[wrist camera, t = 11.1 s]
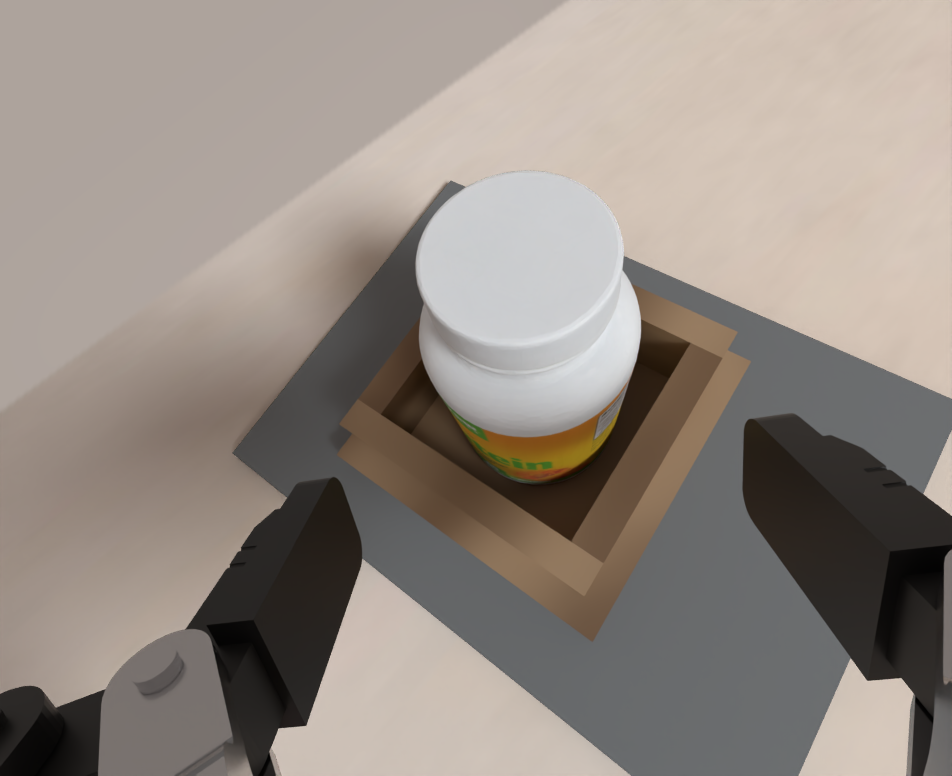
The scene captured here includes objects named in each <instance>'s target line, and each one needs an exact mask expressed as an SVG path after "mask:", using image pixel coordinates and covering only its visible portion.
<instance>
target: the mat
mask: <svg viewBox="0 0 952 776" xmlns="http://www.w3.org/2000/svg"><path fill="white" fill-rule="evenodd" d="M464 188H465V187H464V186H462V185H460V184H457V183H455V182H453V181H450V182H449V183H448V184H447V186H446V187H445V188H444V189H443V191H442V192H441V193H440V194H439V196H438V197H437V198H436V199H435V201H434V202H433V203H432V204H431V206H430V207H429V208H428V209H427V211H426V212H425V213H424V214H423V216H422V217H421V218H420V219H419V221H418V222H417V223H416V224H415V226H414V227H413V228H412V229H411V231H410V232H409V233H408V234H407V236H406V237H405V238H404V239H403V241H402V242H401V243H400V244H399V246H398V247H397V248H396V249H395V251H394V252H393V253H392V254H391V256H390V257H389V258H388V259H387V261H386V262H385V263H384V264H383V266H382V267H381V268H380V269H379V271H378V272H377V273H376V274H375V276H374V277H373V278H372V279H371V281H370V282H369V283H368V284H367V286H366V287H365V288H364V289H363V291H362V292H361V293H360V294H359V296H358V297H357V298H356V299H355V301H354V302H353V303H352V304H351V306H350V307H349V308H348V309H347V311H346V312H345V313H344V314H343V316H342V317H341V318H340V319H339V321H338V322H337V323H336V324H335V326H334V327H333V328H332V329H331V330H330V332H329V333H328V334H327V335H326V337H325V338H324V339H323V340H322V342H321V343H320V344H319V345H318V347H317V348H316V349H315V350H314V352H313V353H312V354H311V355H310V357H309V358H308V359H307V360H306V362H305V363H304V364H303V365H302V367H301V368H300V369H299V370H298V372H297V373H296V374H295V375H294V377H293V378H292V379H291V380H290V382H289V383H288V384H287V385H286V387H285V388H284V389H283V390H282V392H281V393H280V394H279V395H278V397H277V398H276V399H275V400H274V402H273V403H272V404H271V405H270V407H269V408H268V409H267V410H266V412H265V413H264V414H263V415H262V417H261V418H260V419H259V420H258V422H257V423H256V424H255V425H254V427H253V428H252V429H251V430H250V432H249V433H248V434H247V435H246V437H245V438H244V439H243V440H242V442H241V443H240V444H239V445H238V447H237V448H236V449H235V450H234V452H233V454H234V455H235V456H236V457H238V458H239V459H240V460H241V461H243V462H244V463H245V464H246V465H248V466H249V467H250V468H251V469H253V470H254V471H255V472H256V473H258V474H259V475H260V476H261V477H262V478H264V479H265V480H266V481H267V482H269V483H270V484H271V485H272V486H274V487H275V488H276V489H277V490H279V491H280V492H281V493H282V494H284V495H285V496H286V497H287V498H288V496H289V495H290V493H291V491H292V490H293V488H294V487H295V485H296V484H297V483H299V482H303V481H310V480H317V479H324V478H331V477H336V478H337V479H339V481H340V482H341V484H342V486H343V489H344V492H345V495H346V497H347V500H348V503H349V506H350V509H351V512H352V515H353V517H354V520H355V523H356V526H357V529H358V532H359V535H360V538H361V543H362V558H363V559H364V560H365V561H366V562H368V563H369V564H370V565H371V566H373V567H374V568H375V569H376V570H378V571H379V572H380V573H381V574H383V575H384V576H385V577H386V578H388V579H389V580H390V581H391V582H392V583H394V584H395V585H396V586H397V587H399V588H400V589H401V590H402V591H404V592H405V593H406V594H407V595H409V596H410V597H411V598H412V599H414V600H415V601H416V602H417V603H418V604H420V605H421V606H422V607H423V608H425V609H426V610H427V611H428V612H430V613H431V614H432V615H433V616H435V617H436V618H437V619H438V620H439V621H441V622H442V623H443V624H444V625H446V626H447V627H448V628H449V629H451V630H452V631H453V632H454V633H456V634H457V635H458V636H459V637H461V638H462V639H463V640H464V641H465V642H467V643H468V644H469V645H470V646H472V647H473V648H474V649H475V650H477V651H478V652H479V653H480V654H482V655H483V656H484V657H485V658H487V659H488V660H489V661H490V662H491V663H493V664H494V665H495V666H496V667H498V668H499V669H500V670H501V671H503V672H504V673H505V674H506V675H508V676H509V677H510V678H511V679H513V680H514V681H515V682H516V683H517V684H519V685H520V686H521V687H522V688H524V689H525V690H526V691H527V692H529V693H530V694H531V695H532V696H534V697H535V698H536V699H537V700H539V701H540V702H541V703H542V704H543V705H545V706H546V707H547V708H548V709H550V710H551V711H552V712H553V713H555V714H556V715H557V716H558V717H560V718H561V719H562V720H563V721H565V722H566V723H567V724H568V725H569V726H571V727H572V728H573V729H574V730H576V731H577V732H578V733H579V734H581V735H582V736H583V737H584V738H586V739H587V740H588V741H589V742H591V743H592V744H593V745H594V746H595V747H597V748H598V749H599V750H600V751H602V752H603V753H604V754H605V755H607V756H608V757H609V758H610V759H612V760H613V761H614V762H615V763H617V764H618V765H619V766H620V767H621V768H623V769H624V770H625V771H626V772H628V773H629V774H630V775H631V776H798V775H799V773H800V771H801V768H802V766H803V764H804V762H805V759H806V757H807V755H808V753H809V750H810V748H811V746H812V744H813V741H814V739H815V737H816V735H817V732H818V730H819V728H820V726H821V723H822V721H823V719H824V717H825V714H826V712H827V710H828V707H829V705H830V703H831V701H832V698H833V696H834V694H835V692H836V689H837V687H838V685H839V683H840V680H841V678H842V676H843V674H844V671H845V669H846V667H847V665H848V662H849V660H850V658H851V657H850V656H849V655H848V653H847V652H846V650H845V649H844V648H843V646H842V645H841V644H840V642H839V641H838V639H837V638H836V637H835V635H834V634H833V632H832V631H831V630H830V628H829V627H828V626H827V624H826V623H825V621H824V620H823V619H822V617H821V616H820V614H819V613H818V612H817V610H816V609H815V608H814V606H813V605H812V603H811V602H810V601H809V599H808V598H807V596H806V595H805V594H804V592H803V591H802V590H801V588H800V587H799V585H798V584H797V583H796V581H795V580H794V578H793V577H792V576H791V574H790V573H789V572H788V570H787V569H786V567H785V566H784V565H783V563H782V562H781V560H780V559H779V558H778V556H777V555H776V554H775V552H774V551H773V549H772V548H771V547H770V545H769V544H768V542H767V541H766V540H765V538H764V537H763V536H762V534H761V533H760V531H759V530H758V529H757V527H756V526H755V524H754V523H753V521H752V520H751V518H750V516H749V514H748V512H747V509H746V506H745V502H744V498H743V491H742V481H743V441H744V426H745V423H746V422H747V420H748V419H752V418H759V417H766V416H773V415H780V414H787V413H794V414H796V415H798V416H799V417H800V418H802V419H803V420H804V421H805V422H806V423H808V424H809V425H810V426H811V427H813V428H814V429H815V430H816V431H817V432H819V433H820V434H821V435H822V436H826V435H832V436H835V437H837V438H840V439H842V440H844V441H847V442H849V443H852V444H854V445H857V446H859V447H861V448H863V449H865V450H866V451H867V452H869V453H870V454H871V455H872V456H874V457H875V458H876V459H878V460H879V461H880V462H882V463H883V464H884V465H886V468H887V470H892V471H893V472H895V473H896V474H897V475H899V476H900V477H901V478H903V479H904V480H905V481H906V484H907V485H908V486H909V485H912V486H913V487H914V488H916V489H917V490H918V491H920V492H921V493H922V494H923V493H924V491H925V489H926V486H927V484H928V482H929V480H930V477H931V475H932V473H933V471H934V468H935V466H936V464H937V461H938V459H939V457H940V455H941V452H942V450H943V448H944V446H945V443H946V441H947V439H948V437H949V434H950V432H951V430H952V399H951V398H948V397H946V396H944V395H941V394H939V393H937V392H934V391H932V390H930V389H928V388H925V387H923V386H921V385H918V384H916V383H914V382H912V381H909V380H907V379H905V378H902V377H900V376H898V375H895V374H893V373H891V372H889V371H886V370H884V369H882V368H879V367H877V366H875V365H873V364H870V363H868V362H866V361H863V360H861V359H859V358H856V357H854V356H852V355H850V354H847V353H845V352H843V351H840V350H838V349H836V348H834V347H831V346H829V345H827V344H824V343H822V342H820V341H817V340H815V339H813V338H811V337H808V336H806V335H804V334H801V333H799V332H797V331H795V330H792V329H790V328H788V327H785V326H783V325H781V324H778V323H776V322H774V321H772V320H769V319H767V318H765V317H762V316H760V315H758V314H756V313H753V312H751V311H749V310H746V309H744V308H742V307H739V306H737V305H735V304H733V303H730V302H728V301H726V300H723V299H721V298H719V297H717V296H714V295H712V294H710V293H707V292H705V291H703V290H701V289H698V288H696V287H694V286H691V285H689V284H687V283H684V282H682V281H680V280H678V279H675V278H673V277H671V276H668V275H666V274H664V273H662V272H659V271H657V270H655V269H652V268H650V267H648V266H645V265H643V264H641V263H639V262H636V261H634V260H632V259H629V258H627V257H625V256H624V258H623V269H622V270H623V271H624V273H625V274H626V276H627V278H628V279H629V281H630V283H631V284H633V285H635V286H638V287H640V288H642V289H644V290H646V291H649V292H651V293H653V294H655V295H657V296H660V297H662V298H664V299H666V300H669V301H671V302H673V303H675V304H677V305H680V306H682V307H684V308H686V309H688V310H691V311H693V312H695V313H697V314H699V315H702V316H704V317H706V318H708V319H710V320H713V321H715V322H717V323H719V324H721V325H724V326H726V327H728V328H730V329H732V330H735V331H737V332H738V333H737V335H736V336H735V338H734V340H733V341H732V343H731V345H730V347H729V348H728V351H730V352H733V353H735V354H737V355H739V356H741V357H743V358H745V359H747V360H750V361H751V363H750V365H749V366H748V368H747V370H746V372H745V373H744V375H743V377H742V379H741V380H740V382H739V384H738V386H737V388H736V389H735V391H734V393H733V395H732V396H731V398H730V400H729V402H728V403H727V405H726V407H725V409H724V411H723V412H722V414H721V416H720V418H719V419H718V421H717V423H716V425H715V426H714V428H713V430H712V432H711V434H710V435H709V437H708V439H707V441H706V442H705V444H704V446H703V448H702V449H701V451H700V453H699V455H698V457H697V458H696V460H695V462H694V464H693V465H692V467H691V469H690V471H689V472H688V474H687V476H686V478H685V480H684V481H683V483H682V485H681V487H680V488H679V490H678V492H677V494H676V495H675V497H674V499H673V501H672V503H671V504H670V506H669V508H668V510H667V511H666V513H665V515H664V517H663V518H662V520H661V522H660V524H659V526H658V527H657V529H656V531H655V533H654V534H653V536H652V538H651V540H650V541H649V543H648V545H647V547H646V549H645V550H644V552H643V554H642V556H641V557H640V559H639V561H638V563H637V564H636V566H635V568H634V570H633V572H632V573H631V575H630V577H629V579H628V580H627V582H626V584H625V586H624V587H623V589H622V591H621V593H620V595H619V596H618V598H617V600H616V602H615V603H614V605H613V607H612V609H611V610H610V612H609V614H608V616H607V618H606V619H605V621H604V623H603V625H602V626H601V628H600V630H599V632H598V633H597V635H596V637H595V639H594V641H593V642H592V641H590V640H589V639H587V638H586V637H585V636H583V635H582V634H581V633H579V632H578V631H576V630H575V629H574V628H572V627H571V626H570V625H568V624H567V623H566V622H564V621H563V620H561V619H560V618H559V617H557V616H556V615H555V614H553V613H552V612H551V611H549V610H548V609H546V608H545V607H544V606H542V605H541V604H540V603H538V602H537V601H536V600H534V599H533V598H531V597H530V596H529V595H527V594H526V593H525V592H523V591H522V590H520V589H519V588H518V587H516V586H515V585H514V584H512V583H511V582H510V581H508V580H507V579H505V578H504V577H503V576H501V575H500V574H499V573H497V572H496V571H495V570H493V569H492V568H490V567H489V566H488V565H486V564H485V563H484V562H482V561H481V560H480V559H478V558H477V557H475V556H474V555H473V554H471V553H470V552H469V551H467V550H466V549H465V548H463V547H462V546H460V545H459V544H458V543H456V542H455V541H454V540H452V539H451V538H449V537H448V536H447V535H445V534H444V533H443V532H441V531H440V530H439V529H437V528H436V527H434V526H433V525H432V524H430V523H429V522H428V521H426V520H425V519H424V518H422V517H421V516H419V515H418V514H417V513H415V512H414V511H413V510H411V509H410V508H409V507H407V506H406V505H404V504H403V503H402V502H400V501H399V500H398V499H396V498H395V497H394V496H392V495H391V494H389V493H388V492H387V491H385V490H384V489H383V488H381V487H380V486H378V485H377V484H376V483H374V482H373V481H372V480H370V479H369V478H368V477H366V476H365V475H363V474H362V473H361V472H359V471H358V470H357V469H355V468H354V467H353V466H351V465H350V464H348V463H347V462H346V461H344V460H343V459H342V458H340V457H339V456H338V455H337V453H338V452H339V451H340V449H341V448H342V447H343V445H344V444H345V443H346V441H347V440H348V439H349V437H350V436H351V435H352V433H351V432H350V431H348V430H347V429H345V428H344V427H342V426H341V425H340V424H339V423H340V422H341V421H342V419H343V418H344V417H345V415H346V414H347V413H348V411H349V410H350V409H351V408H352V406H353V405H354V404H355V402H356V401H357V400H358V398H359V397H360V396H361V394H362V393H363V392H364V390H365V389H366V388H367V386H368V385H369V384H370V382H371V381H372V380H373V378H374V377H375V376H376V375H377V373H378V372H379V371H380V369H381V368H382V367H383V365H384V364H385V363H386V361H387V360H388V359H389V357H390V356H391V355H392V353H393V352H394V351H395V349H396V348H397V347H398V346H399V344H400V343H401V342H402V340H403V339H404V338H405V336H406V335H407V334H408V332H409V331H410V330H411V328H412V327H413V326H414V324H415V323H416V322H417V320H418V319H419V318H420V317H421V313H422V309H423V305H424V302H423V300H422V297H421V295H420V292H419V289H418V286H417V280H416V265H415V262H416V254H417V249H418V244H419V241H420V239H421V236H422V234H423V232H424V230H425V228H426V226H427V224H428V223H429V221H430V219H431V218H432V217H433V216H434V214H435V213H436V212H437V211H438V209H439V208H440V207H441V206H442V205H443V204H444V203H445V202H446V201H448V200H449V199H450V198H451V197H452V196H454V195H455V194H457V193H458V192H459V191H461V190H462V189H464Z"/></svg>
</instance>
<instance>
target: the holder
mask: <svg viewBox="0 0 952 776" xmlns="http://www.w3.org/2000/svg"><path fill="white" fill-rule="evenodd" d="M631 285H632V287H633V289H634V292H635V294H636V297H637V301H638V305H639V310H640V316H641V338H640V344H639V350H638V355H637V360H636V363H635V366H634V369H633V372H632V375H631V378H630V380H629V383H628V387H627V390H626V393H625V396H624V399H623V402H622V405H621V408H620V411H619V414H618V417H617V420H616V423H615V427H614V430H613V432H612V435H611V437H610V439H609V442H608V443H607V445H606V447H605V449H604V450H603V452H602V453H601V455H600V456H599V457H598V458H597V460H596V461H595V462H594V463H593V464H592V465H591V466H589V467H588V468H587V469H586V470H585V471H583V472H581V473H580V474H578V475H576V476H575V477H573V478H570V479H568V480H565V481H562V482H559V483H554V484H547V485H532V484H525V483H520V482H517V481H513V480H511V479H509V478H506V477H504V476H502V475H501V474H499V473H498V472H496V471H495V470H493V469H492V468H491V467H489V466H488V465H487V464H486V463H485V462H484V461H483V460H482V459H481V458H480V456H479V455H478V454H477V453H476V451H475V450H474V448H473V447H472V445H471V444H470V442H469V440H468V439H467V437H466V436H465V434H464V432H463V431H462V429H461V427H460V426H459V424H458V423H457V421H456V419H455V418H454V416H453V415H452V413H451V412H450V410H449V409H448V407H447V406H446V404H445V403H444V401H443V400H442V398H441V397H440V395H439V394H438V392H437V390H436V389H435V387H434V385H433V383H432V382H431V380H430V378H429V376H428V373H427V371H426V369H425V366H424V363H423V360H422V356H421V352H420V346H419V326H420V318H421V317H420V318H419V319H418V320H417V322H416V323H415V324H414V326H413V327H412V328H411V330H410V331H409V332H408V334H407V335H406V336H405V338H404V339H403V340H402V342H401V343H400V344H399V346H398V347H397V348H396V349H395V351H394V352H393V353H392V355H391V356H390V357H389V359H388V360H387V361H386V363H385V364H384V365H383V367H382V368H381V369H380V371H379V372H378V373H377V375H376V376H375V377H374V378H373V380H372V381H371V382H370V384H369V385H368V386H367V388H366V389H365V390H364V392H363V393H362V394H361V396H360V397H359V398H358V400H357V401H356V402H355V404H354V405H353V406H352V408H351V409H350V410H349V411H348V413H347V414H346V415H345V417H344V418H343V419H342V421H341V422H340V423H339V424H340V425H341V426H342V427H344V428H345V429H347V430H348V431H350V432H351V433H352V435H351V436H350V437H349V439H348V440H347V441H346V443H345V444H344V445H343V447H342V448H341V449H340V451H339V452H338V453H337V455H338V456H339V457H340V458H342V459H343V460H344V461H346V462H347V463H348V464H350V465H351V466H353V467H354V468H355V469H357V470H358V471H359V472H361V473H362V474H363V475H365V476H366V477H368V478H369V479H370V480H372V481H373V482H374V483H376V484H377V485H378V486H380V487H381V488H383V489H384V490H385V491H387V492H388V493H389V494H391V495H392V496H394V497H395V498H396V499H398V500H399V501H400V502H402V503H403V504H404V505H406V506H407V507H409V508H410V509H411V510H413V511H414V512H415V513H417V514H418V515H419V516H421V517H422V518H424V519H425V520H426V521H428V522H429V523H430V524H432V525H433V526H434V527H436V528H437V529H439V530H440V531H441V532H443V533H444V534H445V535H447V536H448V537H449V538H451V539H452V540H454V541H455V542H456V543H458V544H459V545H460V546H462V547H463V548H465V549H466V550H467V551H469V552H470V553H471V554H473V555H474V556H475V557H477V558H478V559H480V560H481V561H482V562H484V563H485V564H486V565H488V566H489V567H490V568H492V569H493V570H495V571H496V572H497V573H499V574H500V575H501V576H503V577H504V578H505V579H507V580H508V581H510V582H511V583H512V584H514V585H515V586H516V587H518V588H519V589H520V590H522V591H523V592H525V593H526V594H527V595H529V596H530V597H531V598H533V599H534V600H536V601H537V602H538V603H540V604H541V605H542V606H544V607H545V608H546V609H548V610H549V611H551V612H552V613H553V614H555V615H556V616H557V617H559V618H560V619H561V620H563V621H564V622H566V623H567V624H568V625H570V626H571V627H572V628H574V629H575V630H576V631H578V632H579V633H581V634H582V635H583V636H585V637H586V638H587V639H589V640H590V641H592V642H593V641H594V639H595V637H596V635H597V633H598V632H599V630H600V628H601V626H602V625H603V623H604V621H605V619H606V618H607V616H608V614H609V612H610V610H611V609H612V607H613V605H614V603H615V602H616V600H617V598H618V596H619V595H620V593H621V591H622V589H623V587H624V586H625V584H626V582H627V580H628V579H629V577H630V575H631V573H632V572H633V570H634V568H635V566H636V564H637V563H638V561H639V559H640V557H641V556H642V554H643V552H644V550H645V549H646V547H647V545H648V543H649V541H650V540H651V538H652V536H653V534H654V533H655V531H656V529H657V527H658V526H659V524H660V522H661V520H662V518H663V517H664V515H665V513H666V511H667V510H668V508H669V506H670V504H671V503H672V501H673V499H674V497H675V495H676V494H677V492H678V490H679V488H680V487H681V485H682V483H683V481H684V480H685V478H686V476H687V474H688V472H689V471H690V469H691V467H692V465H693V464H694V462H695V460H696V458H697V457H698V455H699V453H700V451H701V449H702V448H703V446H704V444H705V442H706V441H707V439H708V437H709V435H710V434H711V432H712V430H713V428H714V426H715V425H716V423H717V421H718V419H719V418H720V416H721V414H722V412H723V411H724V409H725V407H726V405H727V403H728V402H729V400H730V398H731V396H732V395H733V393H734V391H735V389H736V388H737V386H738V384H739V382H740V380H741V379H742V377H743V375H744V373H745V372H746V370H747V368H748V366H749V365H750V363H751V361H750V360H747V359H745V358H743V357H741V356H739V355H737V354H735V353H733V352H730V351H728V348H729V347H730V345H731V343H732V341H733V340H734V338H735V336H736V335H737V333H738V332H737V331H735V330H732V329H730V328H728V327H726V326H724V325H721V324H719V323H717V322H715V321H713V320H710V319H708V318H706V317H704V316H702V315H699V314H697V313H695V312H693V311H691V310H688V309H686V308H684V307H682V306H680V305H677V304H675V303H673V302H671V301H669V300H666V299H664V298H662V297H660V296H657V295H655V294H653V293H651V292H649V291H646V290H644V289H642V288H640V287H638V286H635V285H633V284H631Z"/></svg>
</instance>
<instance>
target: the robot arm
mask: <svg viewBox="0 0 952 776" xmlns="http://www.w3.org/2000/svg"><path fill="white" fill-rule="evenodd" d="M742 491H743V498H744V502H745V506H746V509H747V512H748V514H749V516H750V518H751V520H752V521H753V523H754V524H755V526H756V527H757V529H758V530H759V531H760V533H761V534H762V536H763V537H764V538H765V540H766V541H767V542H768V544H769V545H770V547H771V548H772V549H773V551H774V552H775V554H776V555H777V556H778V558H779V559H780V560H781V562H782V563H783V565H784V566H785V567H786V569H787V570H788V572H789V573H790V574H791V576H792V577H793V578H794V580H795V581H796V583H797V584H798V585H799V587H800V588H801V590H802V591H803V592H804V594H805V595H806V596H807V598H808V599H809V601H810V602H811V603H812V605H813V606H814V608H815V609H816V610H817V612H818V613H819V614H820V616H821V617H822V619H823V620H824V621H825V623H826V624H827V626H828V627H829V628H830V630H831V631H832V632H833V634H834V635H835V637H836V638H837V639H838V641H839V642H840V644H841V645H842V646H843V648H844V649H845V650H846V652H847V653H848V655H849V656H850V657H851V659H852V660H853V662H854V663H855V664H856V666H857V667H858V668H859V670H860V671H861V673H862V674H863V675H864V677H865V678H866V680H867V681H871V680H883V679H894V678H902V679H903V680H904V682H905V683H906V684H907V685H908V687H909V688H910V689H911V691H912V692H913V693H914V695H913V699H912V703H911V708H910V722H909V739H908V756H907V772H906V776H952V516H951V515H950V514H948V513H947V512H946V511H944V510H943V509H942V508H940V507H939V506H938V505H937V504H935V503H934V502H933V501H931V500H930V499H929V498H927V497H926V496H925V495H923V494H922V493H921V492H920V491H918V490H917V489H916V488H914V487H913V486H912V485H909V486H908V485H907V484H906V481H905V480H904V479H903V478H901V477H900V476H899V475H897V474H896V473H895V472H893V471H892V470H887V468H886V465H884V464H883V463H882V462H880V461H879V460H878V459H876V458H875V457H874V456H872V455H871V454H870V453H869V452H867V451H866V450H865V449H863V448H861V447H859V446H857V445H854V444H852V443H849V442H847V441H844V440H842V439H840V438H837V437H835V436H832V435H826V436H822V435H821V434H820V433H819V432H817V431H816V430H815V429H814V428H813V427H811V426H810V425H809V424H808V423H806V422H805V421H804V420H803V419H802V418H800V417H799V416H798V415H796V414H794V413H787V414H780V415H773V416H766V417H759V418H752V419H748V420H747V422H746V423H745V426H744V441H743V481H742ZM361 563H362V543H361V538H360V535H359V532H358V529H357V526H356V523H355V520H354V517H353V515H352V512H351V509H350V506H349V503H348V500H347V497H346V495H345V492H344V489H343V486H342V484H341V482H340V481H339V479H337V478H336V477H331V478H324V479H317V480H310V481H303V482H299V483H297V484H296V485H295V487H294V488H293V490H292V491H291V493H290V495H289V496H288V498H287V499H286V501H285V502H284V504H283V505H282V507H281V509H277V510H274V511H273V512H272V513H271V514H270V515H269V516H267V517H266V518H265V519H264V520H263V521H262V522H261V523H259V524H258V525H257V526H256V527H255V528H254V529H253V531H252V532H251V534H250V535H249V537H248V538H247V540H246V541H245V542H244V544H243V545H242V547H241V551H239V552H238V553H237V554H236V556H235V557H234V559H233V560H232V562H231V563H230V568H227V569H226V571H225V572H224V573H223V575H222V576H221V578H220V579H219V581H218V582H217V584H216V585H215V587H214V588H213V590H212V591H211V593H210V594H209V596H208V597H207V599H206V600H205V602H204V603H203V604H202V606H201V607H200V609H199V610H198V612H197V613H196V615H195V616H194V618H193V619H192V621H191V622H190V624H189V625H188V627H187V628H186V630H181V631H177V632H173V633H171V634H168V635H166V636H164V637H162V638H160V639H157V640H156V641H154V642H152V643H151V644H149V645H147V646H146V647H144V648H143V649H142V650H140V651H139V652H137V653H136V654H135V655H134V656H133V657H131V658H130V659H129V660H128V661H127V662H126V663H125V664H124V665H123V666H122V667H121V668H120V669H119V670H118V672H117V673H116V674H115V675H114V677H113V678H112V679H111V681H110V682H109V684H108V686H107V688H106V689H105V690H102V691H99V692H97V693H94V694H91V695H89V696H86V697H83V698H81V699H78V700H75V701H73V702H70V703H67V704H65V705H62V706H59V707H57V708H56V707H55V706H54V705H53V704H52V702H51V701H50V700H49V699H48V697H47V696H46V695H45V693H44V692H43V691H42V690H41V689H40V688H38V687H35V686H23V687H19V688H15V689H12V690H9V691H6V692H4V693H1V694H0V776H282V775H281V772H280V769H279V765H278V762H277V759H276V756H275V754H274V752H273V750H272V749H271V746H272V744H273V741H274V739H275V736H276V734H277V731H278V728H287V727H298V726H306V725H307V722H308V719H309V716H310V713H311V710H312V707H313V704H314V702H315V699H316V696H317V693H318V690H319V687H320V684H321V681H322V678H323V675H324V672H325V670H326V667H327V664H328V661H329V658H330V655H331V652H332V649H333V646H334V643H335V640H336V638H337V635H338V632H339V629H340V626H341V623H342V620H343V617H344V614H345V611H346V608H347V606H348V603H349V600H350V597H351V594H352V591H353V588H354V585H355V582H356V579H357V576H358V573H359V571H360V567H361Z"/></svg>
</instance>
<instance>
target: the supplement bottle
mask: <svg viewBox="0 0 952 776" xmlns="http://www.w3.org/2000/svg"><path fill="white" fill-rule="evenodd" d="M623 258H624V247H623V240H622V235H621V231H620V228H619V225H618V222H617V221H616V219H615V217H614V215H613V213H612V212H611V210H610V209H609V207H608V206H607V205H606V204H605V202H604V201H603V200H602V199H601V198H600V197H599V196H598V195H597V194H595V193H594V192H593V191H591V190H590V189H589V188H587V187H586V186H584V185H583V184H581V183H579V182H577V181H575V180H573V179H570V178H568V177H565V176H562V175H558V174H553V173H549V172H543V171H512V172H507V173H502V174H497V175H494V176H490V177H487V178H485V179H482V180H480V181H477V182H475V183H473V184H471V185H469V186H467V187H465V188H464V189H462V190H461V191H459V192H458V193H457V194H455V195H454V196H452V197H451V198H450V199H449V200H448V201H446V202H445V203H444V204H443V205H442V206H441V207H440V208H439V209H438V211H437V212H436V213H435V214H434V216H433V217H432V218H431V219H430V221H429V223H428V224H427V226H426V228H425V230H424V232H423V234H422V236H421V239H420V241H419V244H418V249H417V254H416V262H415V265H416V280H417V286H418V289H419V292H420V295H421V297H422V300H423V302H424V305H423V309H422V313H421V318H420V326H419V346H420V352H421V356H422V360H423V363H424V366H425V369H426V371H427V373H428V376H429V378H430V380H431V382H432V383H433V385H434V387H435V389H436V390H437V392H438V394H439V395H440V397H441V398H442V400H443V401H444V403H445V404H446V406H447V407H448V409H449V410H450V412H451V413H452V415H453V416H454V418H455V419H456V421H457V423H458V424H459V426H460V427H461V429H462V431H463V432H464V434H465V436H466V437H467V439H468V440H469V442H470V444H471V445H472V447H473V448H474V450H475V451H476V453H477V454H478V455H479V456H480V458H481V459H482V460H483V461H484V462H485V463H486V464H487V465H488V466H489V467H491V468H492V469H493V470H495V471H496V472H498V473H499V474H501V475H502V476H504V477H506V478H509V479H511V480H513V481H517V482H520V483H525V484H532V485H547V484H554V483H559V482H562V481H565V480H568V479H570V478H573V477H575V476H576V475H578V474H580V473H581V472H583V471H585V470H586V469H587V468H588V467H589V466H591V465H592V464H593V463H594V462H595V461H596V460H597V458H598V457H599V456H600V455H601V453H602V452H603V450H604V449H605V447H606V445H607V443H608V442H609V439H610V437H611V435H612V432H613V430H614V427H615V423H616V420H617V417H618V414H619V411H620V408H621V405H622V402H623V399H624V396H625V393H626V390H627V387H628V383H629V380H630V378H631V375H632V372H633V369H634V366H635V363H636V360H637V355H638V350H639V344H640V338H641V316H640V310H639V305H638V301H637V297H636V294H635V292H634V289H633V287H632V285H631V283H630V281H629V279H628V278H627V276H626V274H625V273H624V271H623V270H622V269H623Z"/></svg>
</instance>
